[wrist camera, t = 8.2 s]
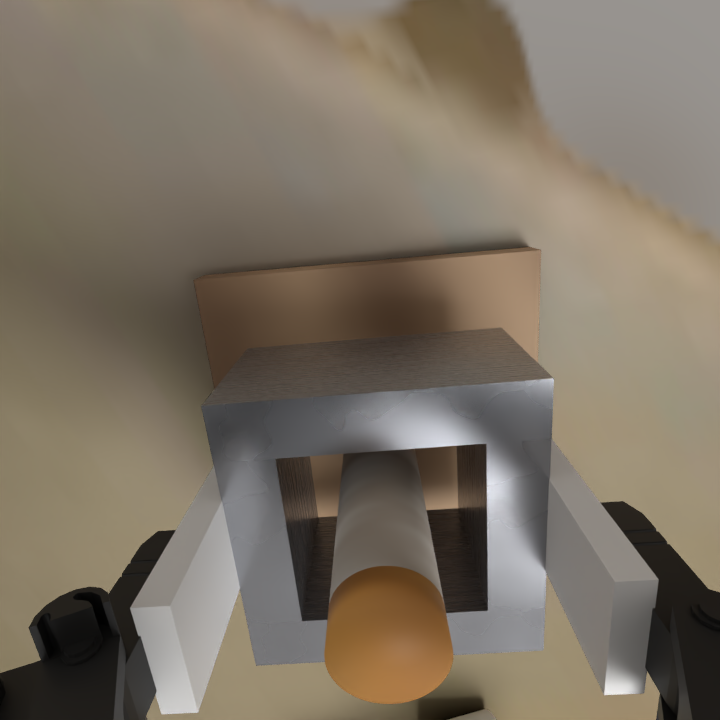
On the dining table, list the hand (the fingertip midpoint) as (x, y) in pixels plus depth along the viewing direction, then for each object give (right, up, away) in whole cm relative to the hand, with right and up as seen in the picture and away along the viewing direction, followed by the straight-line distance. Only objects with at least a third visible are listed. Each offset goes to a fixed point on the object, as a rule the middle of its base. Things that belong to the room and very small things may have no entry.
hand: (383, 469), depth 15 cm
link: (0, 0, +1) cm, 1 cm away
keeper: (0, +1, +4) cm, 5 cm away
